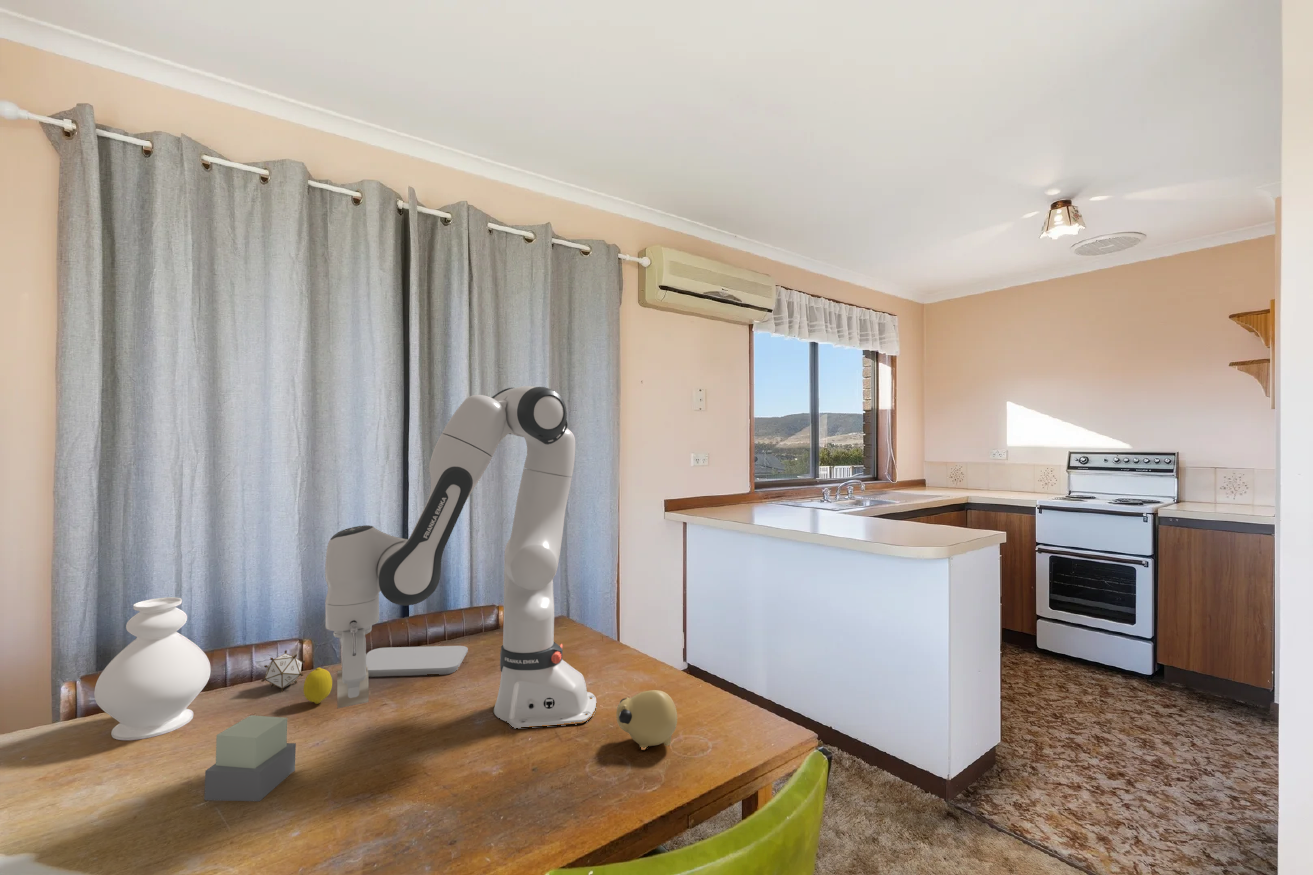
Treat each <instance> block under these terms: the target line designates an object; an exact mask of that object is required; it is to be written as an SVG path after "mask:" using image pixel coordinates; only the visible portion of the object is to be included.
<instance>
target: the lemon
mask: <svg viewBox="0 0 1313 875" xmlns="http://www.w3.org/2000/svg"><path fill="white" fill-rule="evenodd" d="M332 688H333V678H332V675H331V673H330V671H328V670H327V669H324V668H321V667H316V669H314V670H312V671H310V672H309V673H308V674H307V676H306V678H305V679H304V682H303V696H304V697H305V699H306V700H307V701H309V702H312V703H314V704H316V705H318V704H320V703H321V701H324V700H325V699H326V698H327V697H328V696H329V695H330V693H331V691H332Z"/></svg>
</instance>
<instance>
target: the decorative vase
mask: <svg viewBox="0 0 1313 875" xmlns="http://www.w3.org/2000/svg"><path fill="white" fill-rule="evenodd" d="M182 602H183V599H182V598H181V597H177V596H176V597H175V596H174V597H173V596H172V597H170V596H169V597H159V598H158V597H157V598H150V599H147V600H142V601H138V602H135V603H134V604H133V606H132V607H133V608H132V609H133V610H134V611H136V612H137V613H136V614H134V615H133V616H132V617H130V618H129V620H128V621H127V622H126V625H125V629H126V631H127V632H128V633H129V634H131V635H132V636H134V637H136V638H135V639H134V640H132V641H131V642H130V643H129V644H128V645H126V646H125V647H124V648H123V649H122V650H121V651H120V652H118V653H117V655H116V656H114V658H112V659H111V661H110V662H109V663H108V664H107V665H106V667H105V668H104V669H103V670H102V672H101V673H100V675H98V676H99V677H98V678H97V681H96V684H95V687H94V694H93V695H94V696H93V697H94V700H95V702H96V704H97V706H98V707H99V708H100V709H101V710H102V711H104V713H106V714H107V715H109V716H110V717H112V718H113V719H115V720H116V721H117V722H119V723H118V724H117V725H115V726H114V727H113V728H112V729H111V738H113V739H114V740H115V739H116V740H119V741H137V740H145V739H149V738H154V737H158V736H161V735H165V734H167V733H170V732H173V731H175V730H176V731H177V729H180V728H182V727H184V726H185V725H187V724H188V723H190V722H191V721H192V720H193V718H194V711H193V710H192V709H189V708H188V706H190V704H191V703H192V702H193V701H194V700H195V699H196V698H197V697H198V695H199V694H200V693H201V692H202V690H203V689H204V688H205V686H206V685H207V684H208V681H209V679H210V677H211V670H212V669H211V663H210V660H209V657H208V656H207V654H206V653H205V652H204V651H203V649H201V648H200V647H199V645H197V644H196V643H195V642H193V641H192V640H190V639H188V637H186V636H184V635H183V634H181V633H179V632H178V631H179V630H180V629H181V628H182V627H183V626H184V625H185V624H186V623H187V620H188V615H187V613H186V612H185V611H183V610H182V609H180V608H178V607H177V606H180V605H182Z"/></svg>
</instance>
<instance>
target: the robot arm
mask: <svg viewBox="0 0 1313 875" xmlns="http://www.w3.org/2000/svg"><path fill="white" fill-rule="evenodd" d="M567 416H568V413H567V406H566V404H565V400H564V399H563V398H562V396H561V395H560V394H559V393H558V392H557V391H554V390H553V389H551V388H548V387H545V386H535V385H534V386H533V385H522V386H518V387H508V388H504V389H502V390H500V391H499V392H497V393H496V394H495V395H492V396H487V395H485V394H473V395H470V396H468V397H467V398H465V399H464V401H463V402H461V404H460V405H459V406H458V408H457V409H456V410H455V412H454V413H453V415H452V416H451V417H450V418H449V421H448V422H447V423H446V425H445V426H444V429H443V430H442V432H441V433H440V435H439V437H438V439H437V442H436V444H435V446H434V448H433V451H432V454H431V458H430V461H429V464H428V468H429V475H430V476H429V477H430V489H429V490H430V491H429V495H428V498H427V501H426V503H425V506H424V507H423V510H422V512H421V513H420V516H419V518H418V519H417V522H416V523H415V526H414V528H413V530H412V532H411V534H410V536H409V538H402V537H398V536H394V535H392V534H391V535H390V534H389V533H385V532H383V531H381V530H379V529H377V528H376V527H375V526H373V525H366V524H365V525H357V526H352V527H349V528H345V529H342V530H340V531H338V532H336V533H335V534H334V535H333V536H331V537H330V539H329V541H328V544H327V546H326V547H327V548H326V552H325V553H326V554H325V567H324V571H325V572H324V573H325V574H324V575H325V576H324V577H325V582H326V585H327V594H326V597H325V599H324V600H325V604H324V605H325V608H324V609H325V610H324V611H325V615H324V616H325V618H324V619H325V629H326V630H328V631H333V632H332V633H333V637H334V638H337V639H339V643H340V647H341V670H342V681H343V683H344V684H347V685H348V697H349V698H353V697H357V696H358V695H359V685H360V681H362V680H364V679H365V678H366V654H367V643H366V641H367V639H366V635H368V634H369V633H371V632H372V631H373V630H372V629H373V627H372V626H374V625H375V624H377V623H378V622H379V621H380V592H381V594H382V595H383V597H385V599H386V600H388V601H389V602H391V603H392V604H395V605H398V606H413V605H416V604H421V603H422V602H423V601H425V600H427V599H428V598H430V597H431V596H432V594H433V593H434V592H435V591H436V589H437V587H438V586H439V583H440V580H441V574H442V559H443V558H442V557H443V554H444V550H445V548H446V546H447V543H448V541H449V539H450V537H451V535H452V532H453V530H454V528H455V526H456V524H457V521H458V519H459V518H460V515H461V513H462V511H463V509H464V506H465V504H466V502H467V500H468V498H469V497H470V496H471V493H472V492H473V491H474V488H476V486H477V484H478V482H479V481H480V479H481V478H482V476H483V474H484V473H485V472H486V470H487V468H488V466H489V464H490V463H491V460H492V459H493V456H494V455H495V453H496V451H497V448H498V445H499V444H500V443H501V442H502V440H503V439H504V438H505V437H506V436H507V435H513V436H517V437H521V438H524V440H525V443H526V457H525V461H524V465H523V469H522V474H521V479H520V483H519V488H518V494H517V498H516V502H515V510H514V516H513V522H512V528H511V534H510V538H509V539H508V541H507V543H506V545H505V548H504V558H503V561H504V564H503V565H504V566H503V569H504V573H503V574H504V575H503V630H502V631H503V636H502V639H503V640H502V645H501V646H500V653H499V654H500V655H499V667H500V668H499V669H500V672H501V673H500V674H501V676H500V681H499V688H498V693H497V698H496V700H495V705H494V707H493V713H494V715H495V717H497V718H498V719H499V718H500V719H499V720H501V721H504V722H506V721H507V722H506V723H509V724H510V725H511V726H512V727H514V728H513V729H516V728H518V729H522V728H521V727H529V726H542V725H557V724H564V723H571V722H574V723H575V722H582V721H586V720H587V719H588V718H589V717H591V716H592V714H593V712H594V711H595V708H596V709H597V707H596V703H597V698H596V696H595V694H594V693H593V692H590V691H587V684H586V681H585V677H584V675H583V674H582V673H581V672H580V671H579V670H577V669H575V668H574V667H573V666H571V664H569V663H568V662H566V661H565V660H564V659H563V650H564V649H563V643H561V644H558V643H557V642H555V641H554V640H555V639H554V638H555V636H554V634H555V598H554V577H555V576H556V574H557V571H558V568H559V561H560V557H561V556H560V555H561V549H562V541H563V536H564V525H565V518H566V517H565V516H566V510H567V505H568V499H569V495H570V494H569V493H570V489H571V484H572V478H573V475H574V468H575V459H576V437H575V435H574V433H573V432H572V431H571V430H570V429H569V428H568V426H569V425H568V421H567ZM590 698H592V699H590ZM595 712H596V711H595ZM586 714H587V715H586ZM509 724H508V725H509ZM510 725H509V726H510ZM511 726H510V727H511ZM512 727H511V728H512Z"/></svg>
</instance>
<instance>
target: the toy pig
mask: <svg viewBox="0 0 1313 875" xmlns="http://www.w3.org/2000/svg"><path fill="white" fill-rule="evenodd" d="M616 723H617V725H618V726H619V728H620V729H621V730H622V731H624V732H626V733H628V735H629V736H630V738H631V739H632V740H633V741H634V742H635V743H637V744H638V745H639V748H640V747H643V748H645V747H648V746H649V747H653V746H654V747H655V746H658V745H661V744H663V745H664V746H670V745H671V743H672V735H673V734H674V733H675V730H676V728H677V725H678V713H677V707H676V705H675V702H674V700H673V698H672V697H671V696H670V695H669V694H668V693H667V692H665V691H663V690H660V689H659V690H658V689H657V690H656V689H652V690H645V691H641V692H639V693H637V694H635V695H633V696H632V697H628V696H626V697H624V698H622V699H621V700H620V701H619V704H618V705H617V709H616ZM649 747H648V748H649Z"/></svg>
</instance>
